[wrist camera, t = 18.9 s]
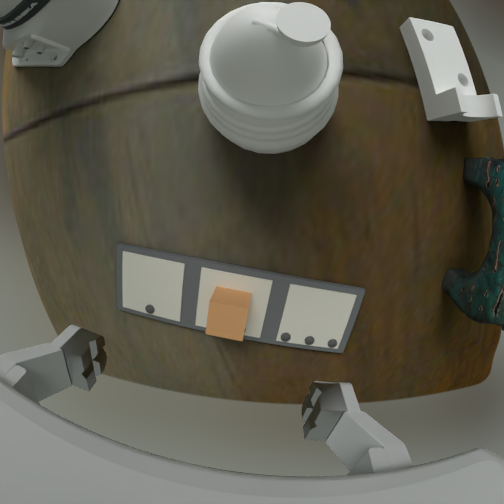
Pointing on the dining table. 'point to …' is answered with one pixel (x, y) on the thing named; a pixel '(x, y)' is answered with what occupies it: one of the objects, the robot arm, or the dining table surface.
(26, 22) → the robot arm
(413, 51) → the bracket
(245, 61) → the honey pot
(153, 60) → the dining table surface
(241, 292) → the block
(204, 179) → the dining table surface
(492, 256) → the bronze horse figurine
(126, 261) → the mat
